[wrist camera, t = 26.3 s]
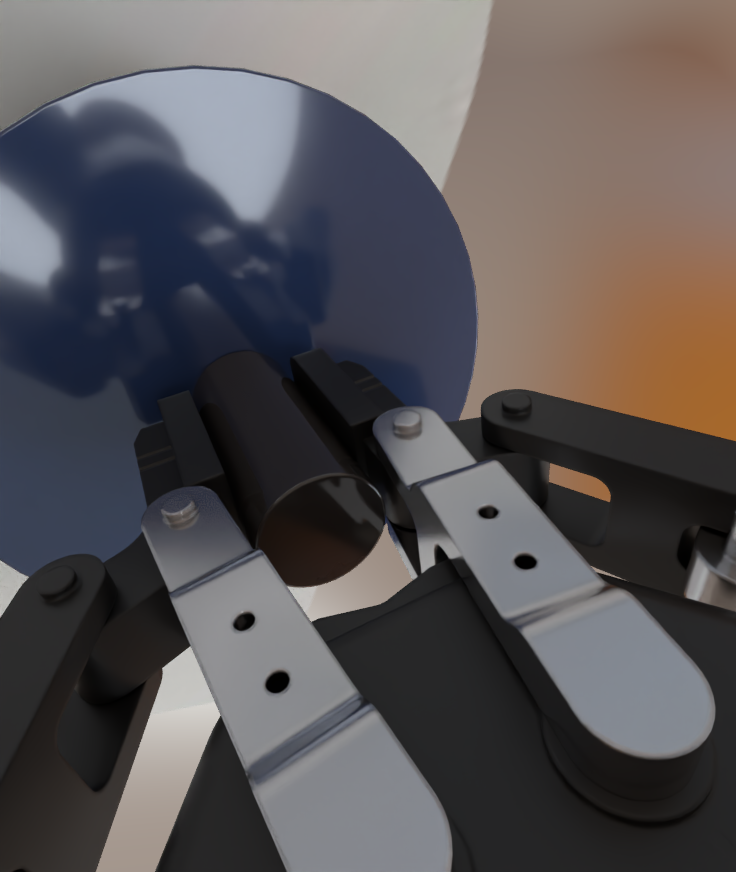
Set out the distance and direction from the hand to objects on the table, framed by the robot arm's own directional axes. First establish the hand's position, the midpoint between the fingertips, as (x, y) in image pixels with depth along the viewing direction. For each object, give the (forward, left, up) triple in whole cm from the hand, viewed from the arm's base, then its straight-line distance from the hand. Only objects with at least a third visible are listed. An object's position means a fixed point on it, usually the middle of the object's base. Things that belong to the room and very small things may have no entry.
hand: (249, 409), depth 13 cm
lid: (0, 0, -1) cm, 1 cm away
